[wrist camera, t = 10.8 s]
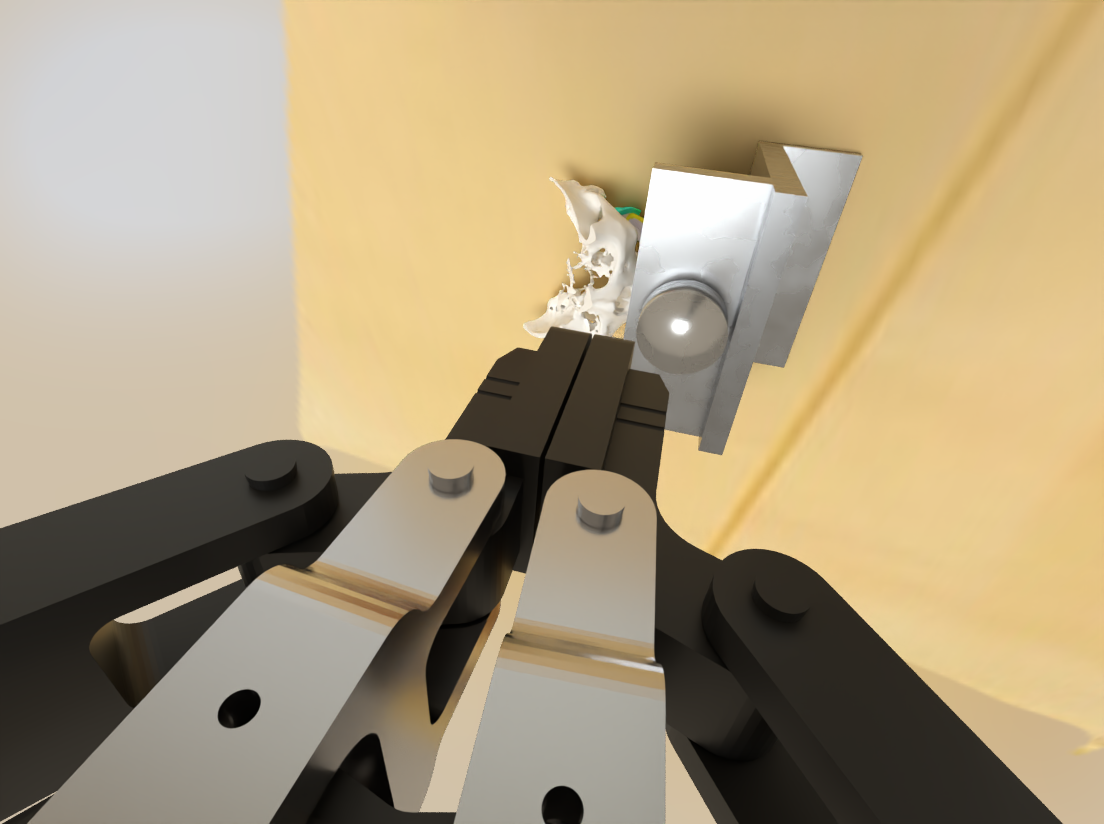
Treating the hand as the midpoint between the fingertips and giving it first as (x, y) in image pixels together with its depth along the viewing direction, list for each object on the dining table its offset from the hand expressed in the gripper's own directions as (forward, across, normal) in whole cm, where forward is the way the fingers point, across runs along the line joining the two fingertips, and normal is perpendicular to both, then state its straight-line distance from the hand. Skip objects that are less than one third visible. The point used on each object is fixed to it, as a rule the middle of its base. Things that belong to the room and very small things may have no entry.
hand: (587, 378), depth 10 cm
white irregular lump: (+35, +3, +11) cm, 37 cm away
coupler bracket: (+35, -6, +9) cm, 37 cm away
